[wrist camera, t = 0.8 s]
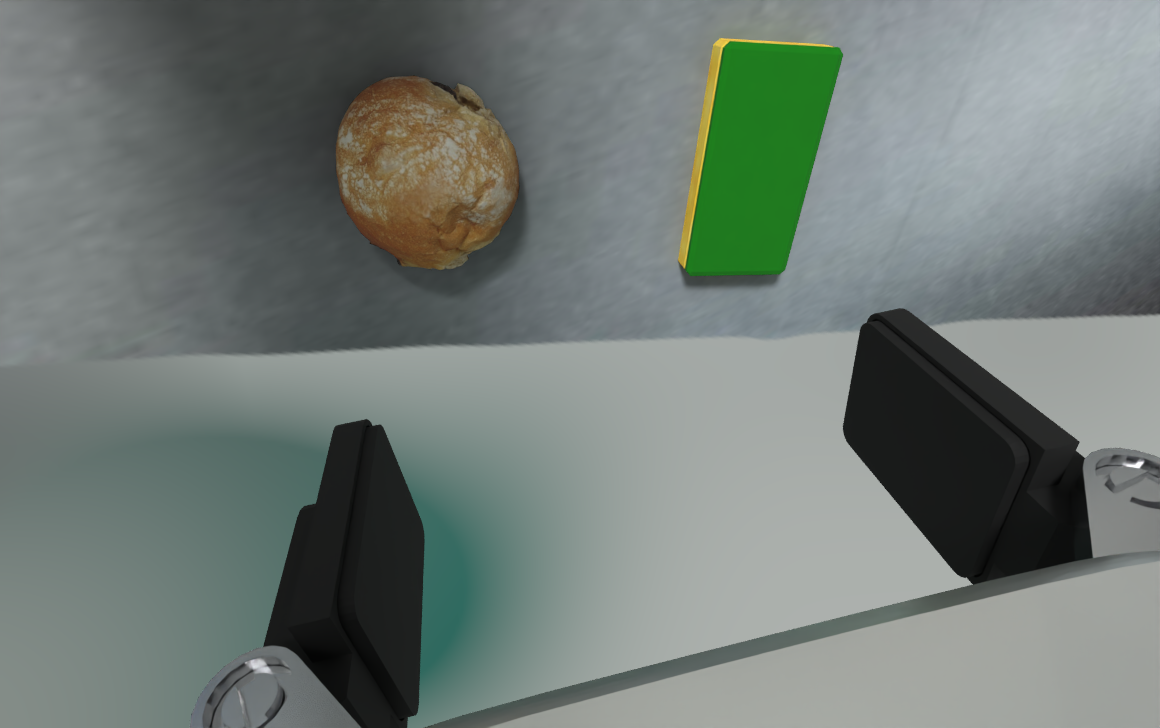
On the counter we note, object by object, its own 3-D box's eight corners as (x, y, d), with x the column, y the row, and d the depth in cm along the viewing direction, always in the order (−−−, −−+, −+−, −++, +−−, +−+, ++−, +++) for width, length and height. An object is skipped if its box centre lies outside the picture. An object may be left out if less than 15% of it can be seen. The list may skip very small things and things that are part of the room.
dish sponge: (674, 261, 42) (686, 276, 40) (711, 36, 34) (727, 41, 32) (769, 260, 43) (784, 275, 41) (824, 43, 36) (846, 48, 34)
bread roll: (520, 125, 38) (551, 88, 31) (491, 285, 39) (514, 287, 31) (356, 77, 35) (345, 22, 28) (328, 251, 36) (310, 245, 28)
